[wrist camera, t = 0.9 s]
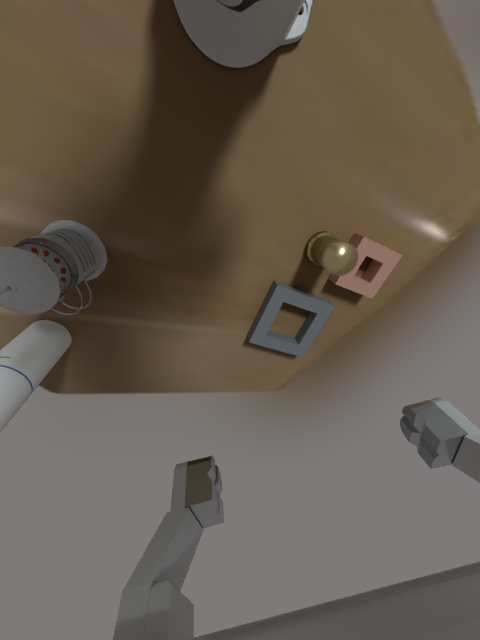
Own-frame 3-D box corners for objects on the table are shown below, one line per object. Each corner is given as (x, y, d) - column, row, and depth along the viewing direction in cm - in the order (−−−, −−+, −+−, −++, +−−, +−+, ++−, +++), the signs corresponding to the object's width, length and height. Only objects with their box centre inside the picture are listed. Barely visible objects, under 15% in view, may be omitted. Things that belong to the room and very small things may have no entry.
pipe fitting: (315, 226, 43) (337, 234, 36) (342, 238, 44) (368, 249, 38) (299, 257, 45) (317, 271, 38) (325, 268, 47) (346, 283, 40)
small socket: (354, 233, 44) (363, 236, 42) (391, 251, 47) (402, 255, 44) (328, 278, 48) (335, 284, 45) (363, 292, 51) (372, 298, 48)
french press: (74, 206, 37) (-110, 243, 15) (127, 272, 42) (50, 367, 21) (23, 240, 38) (-215, 318, 16) (82, 299, 43) (-37, 416, 22)
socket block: (274, 280, 47) (277, 285, 44) (329, 300, 50) (335, 306, 48) (246, 335, 52) (248, 342, 50) (299, 350, 56) (303, 357, 54)
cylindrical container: (67, 356, 49) (-41, 497, 27) (24, 344, 46) (-132, 488, 24) (75, 328, 46) (-37, 459, 24) (31, 314, 43) (-138, 445, 22)
